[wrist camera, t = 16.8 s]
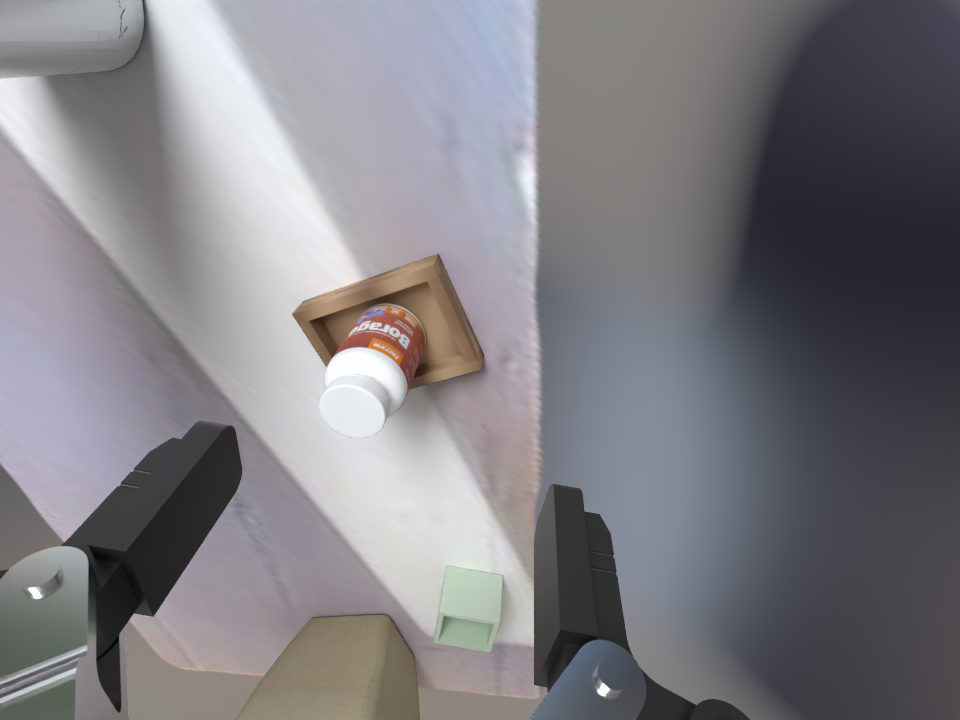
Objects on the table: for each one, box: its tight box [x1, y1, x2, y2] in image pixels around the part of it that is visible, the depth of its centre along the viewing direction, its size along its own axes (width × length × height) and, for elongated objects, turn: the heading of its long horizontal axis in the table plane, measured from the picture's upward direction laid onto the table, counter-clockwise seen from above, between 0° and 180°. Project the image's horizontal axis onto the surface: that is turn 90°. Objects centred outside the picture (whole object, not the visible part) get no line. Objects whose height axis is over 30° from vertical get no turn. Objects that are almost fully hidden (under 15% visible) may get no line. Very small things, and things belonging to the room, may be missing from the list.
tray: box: [292, 254, 484, 389], centre depth 42 cm, size 13×10×2 cm
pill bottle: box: [319, 303, 426, 438], centre depth 38 cm, size 6×6×11 cm
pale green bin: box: [433, 566, 503, 653], centre depth 61 cm, size 7×7×6 cm
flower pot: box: [235, 614, 420, 720], centre depth 66 cm, size 19×19×17 cm
